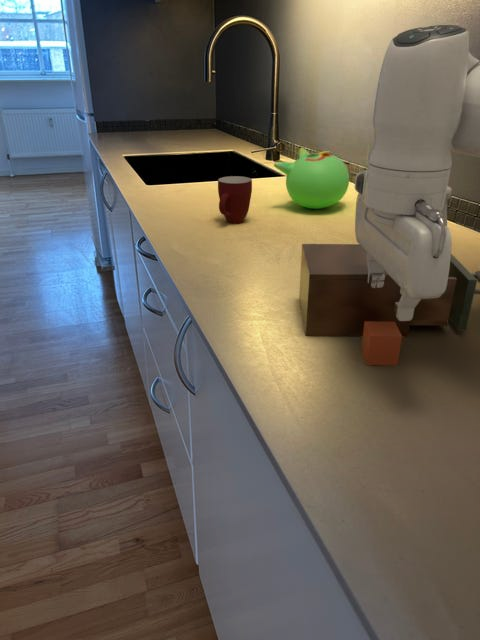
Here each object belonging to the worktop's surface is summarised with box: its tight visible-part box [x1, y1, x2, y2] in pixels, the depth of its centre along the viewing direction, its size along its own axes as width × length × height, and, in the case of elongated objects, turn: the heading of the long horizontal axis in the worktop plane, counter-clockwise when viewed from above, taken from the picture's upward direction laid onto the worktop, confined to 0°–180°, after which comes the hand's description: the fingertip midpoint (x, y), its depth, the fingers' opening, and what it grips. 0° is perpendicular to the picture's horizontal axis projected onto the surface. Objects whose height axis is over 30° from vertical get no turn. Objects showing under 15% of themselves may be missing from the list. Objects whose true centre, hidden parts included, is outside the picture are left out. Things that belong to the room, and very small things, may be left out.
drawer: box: [409, 253, 480, 331], centre depth 77 cm, size 18×11×8 cm, turn 88°
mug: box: [217, 175, 253, 224], centre depth 122 cm, size 10×8×10 cm
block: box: [360, 321, 403, 366], centre depth 67 cm, size 4×4×4 cm
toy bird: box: [273, 147, 350, 210], centre depth 133 cm, size 18×17×15 cm
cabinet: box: [298, 243, 411, 338], centre depth 77 cm, size 15×13×10 cm
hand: (387, 301), depth 64 cm, fingers open, 8 cm apart
